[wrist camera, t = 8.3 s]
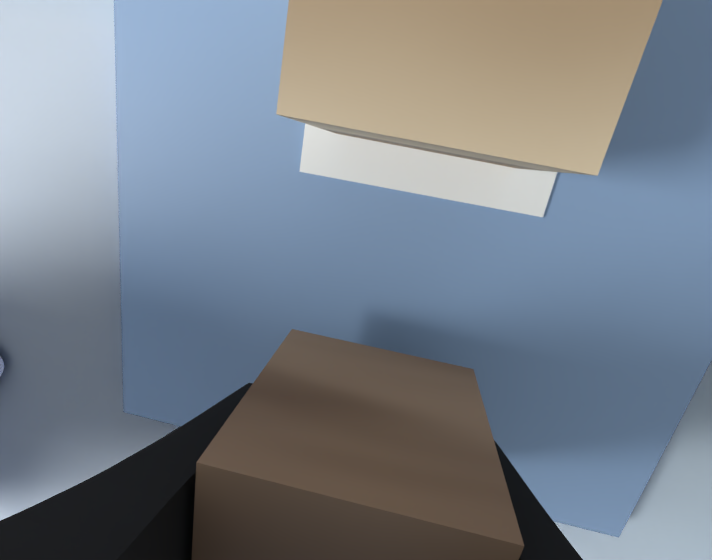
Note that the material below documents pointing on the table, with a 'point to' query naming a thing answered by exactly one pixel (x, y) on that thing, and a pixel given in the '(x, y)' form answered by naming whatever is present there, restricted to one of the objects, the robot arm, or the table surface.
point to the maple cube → (468, 75)
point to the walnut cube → (354, 463)
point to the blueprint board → (417, 249)
